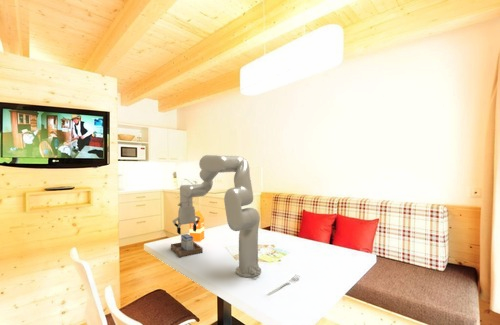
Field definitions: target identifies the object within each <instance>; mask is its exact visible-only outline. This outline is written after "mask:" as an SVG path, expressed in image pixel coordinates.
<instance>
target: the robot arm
mask: <svg viewBox="0 0 500 325" xmlns="http://www.w3.org/2000/svg"><path fill="white" fill-rule="evenodd" d="M199 168H200V171H199V178H200V179H201V180H202V181H203V182H202V183H198V184H182V185H180V186H179V203H178V204H177V207H178V213H177V217H176V218H174V219H173V220H172V223H173V225H174V226H175V227H176V233H177V234H178V235H182V234H181V233H182V231H181V226H182V225H187V224H189V225H190V223H193V224H194V225H193V231H194V232H196V230H197V227H196V225H197V224H198V222H199V220H200V217H198V216H196V215H195V212H196V209H195V206H193V203H194V201H193V200H194V199H193V198H200V197H204V196H206V195H207V194H208V193H209V192H210V191H211V190H212V187H213V183H214V181H213V180H214V179H215V178H216V177H217V175H219V173H220V174H221V173H234V176H233V184H234V187H231V188H228V189H227V190H226V191H225V193H224V199H223V201H224V202H223V203H224V209H225V214H226V215H225V216H226V222H227V224H228V225H227V226H229V229H231V230H232V231H234V232H239V234H238V266H237V267H236V269H235V273H236V274H237V275H238V276H240V277H244V278H254V277H257V276H259V275H260V274H262V268H261V267H260V266H259V265H260V264H259V226H260V221H261V220H260V219H261V218H260V216H261V215H260V212H259V211H258V210H257V209H255V208H254V207H246V208H242V207H245V206H248V205H251V204H252V203H253V202H254V192H253V187H252V180H251V174H250V166H249V162H248V161H247V159H245V158H244V157H242V156H238V155H218V154H216V155H215V154H214V155H213V154H211V155H210V154H209V155H208V154H206V155H203V156H202V157H201V158H200V159H199ZM196 218H197V221H196ZM177 222H178V223H177Z"/></svg>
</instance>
